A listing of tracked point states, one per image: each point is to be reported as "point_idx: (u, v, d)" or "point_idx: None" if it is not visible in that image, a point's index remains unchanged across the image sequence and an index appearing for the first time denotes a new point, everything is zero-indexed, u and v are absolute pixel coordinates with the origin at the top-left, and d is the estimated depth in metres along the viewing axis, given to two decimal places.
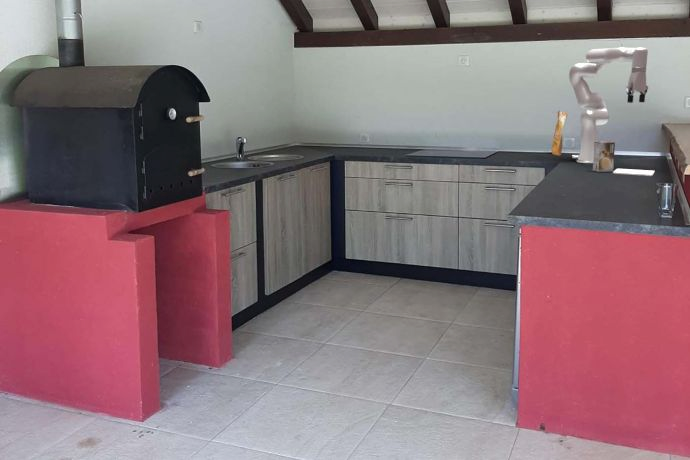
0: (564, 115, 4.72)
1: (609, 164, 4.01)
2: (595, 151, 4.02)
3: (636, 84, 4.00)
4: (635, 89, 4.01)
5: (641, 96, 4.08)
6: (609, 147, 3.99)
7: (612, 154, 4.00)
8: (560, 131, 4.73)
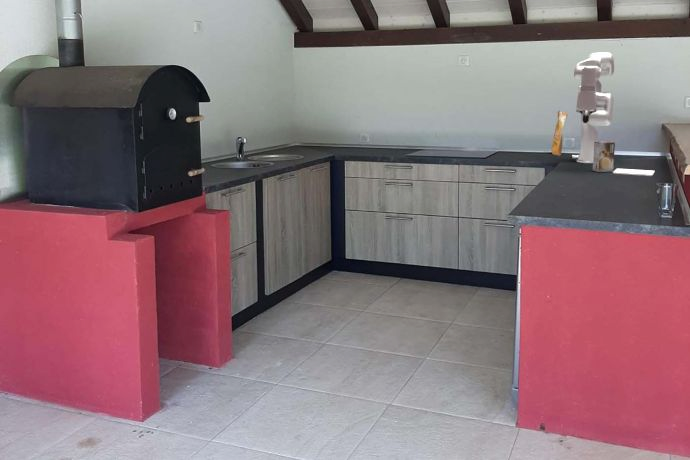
0: (564, 115, 4.72)
1: (609, 164, 4.01)
2: (595, 151, 4.02)
3: None
4: None
5: None
6: (609, 147, 3.99)
7: (612, 154, 4.00)
8: (560, 131, 4.73)
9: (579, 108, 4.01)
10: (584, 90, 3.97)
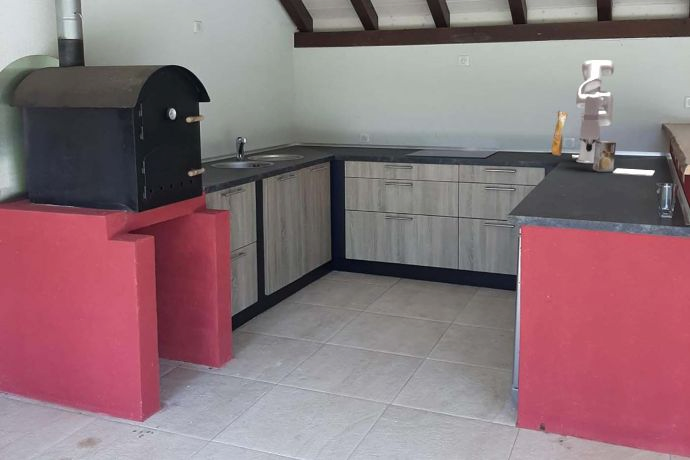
0: (564, 115, 4.72)
1: (610, 164, 4.01)
2: (596, 151, 4.02)
3: None
4: None
5: None
6: (610, 147, 3.98)
7: (613, 154, 4.00)
8: (560, 131, 4.73)
9: (582, 137, 4.03)
10: (587, 119, 3.99)
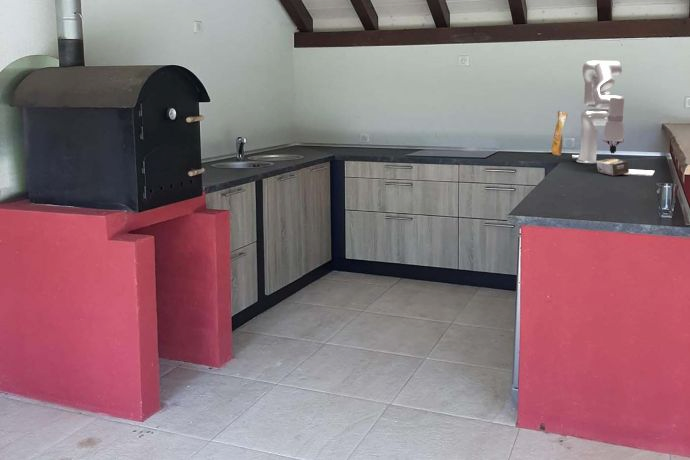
0: (564, 115, 4.72)
1: None
2: (607, 167, 3.90)
3: None
4: None
5: None
6: None
7: None
8: (560, 131, 4.73)
9: (606, 138, 3.98)
10: (612, 120, 3.94)
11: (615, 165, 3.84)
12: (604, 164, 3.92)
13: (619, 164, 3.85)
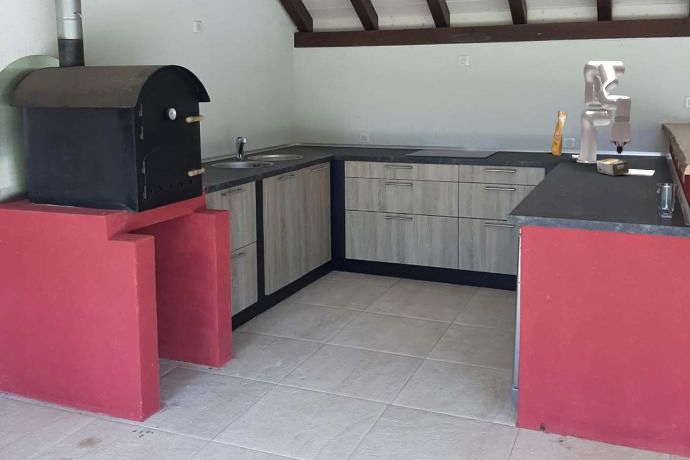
0: (564, 115, 4.72)
1: None
2: (607, 167, 3.90)
3: None
4: None
5: None
6: None
7: None
8: (560, 131, 4.73)
9: (613, 139, 3.96)
10: (618, 121, 3.93)
11: (615, 165, 3.84)
12: (604, 164, 3.92)
13: (619, 164, 3.85)
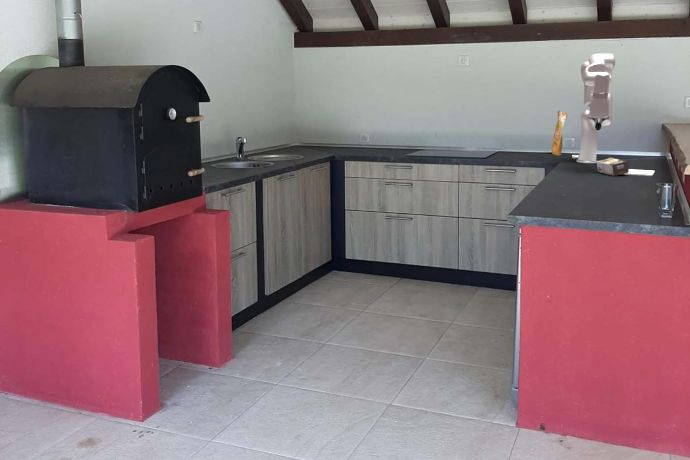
0: (564, 115, 4.72)
1: None
2: (607, 167, 3.90)
3: None
4: None
5: None
6: None
7: None
8: (560, 131, 4.73)
9: (592, 115, 3.99)
10: (597, 97, 3.95)
11: (615, 165, 3.84)
12: (604, 164, 3.92)
13: (619, 164, 3.85)
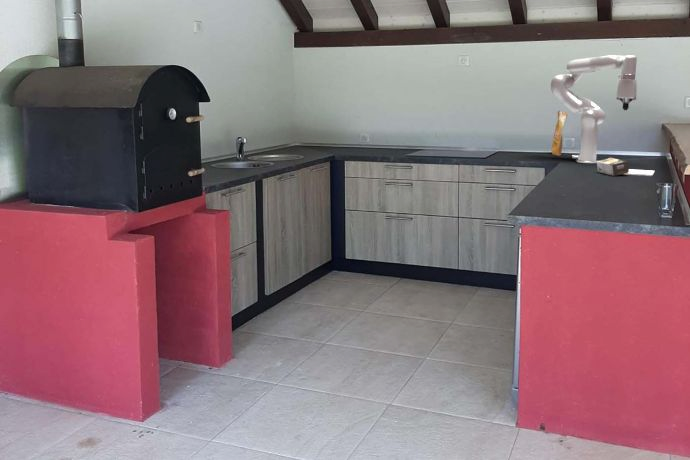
0: (564, 115, 4.72)
1: None
2: (607, 167, 3.90)
3: None
4: None
5: None
6: None
7: None
8: (560, 131, 4.73)
9: (619, 96, 4.19)
10: (624, 78, 4.15)
11: (615, 165, 3.84)
12: (604, 164, 3.92)
13: (619, 164, 3.85)
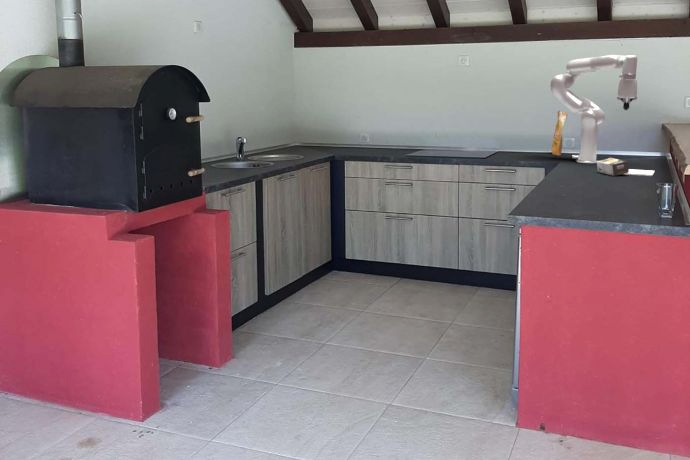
0: (564, 115, 4.72)
1: None
2: (607, 167, 3.90)
3: None
4: None
5: None
6: None
7: None
8: (560, 131, 4.73)
9: (620, 95, 4.19)
10: (625, 78, 4.16)
11: (615, 165, 3.84)
12: (604, 164, 3.92)
13: (619, 164, 3.85)
